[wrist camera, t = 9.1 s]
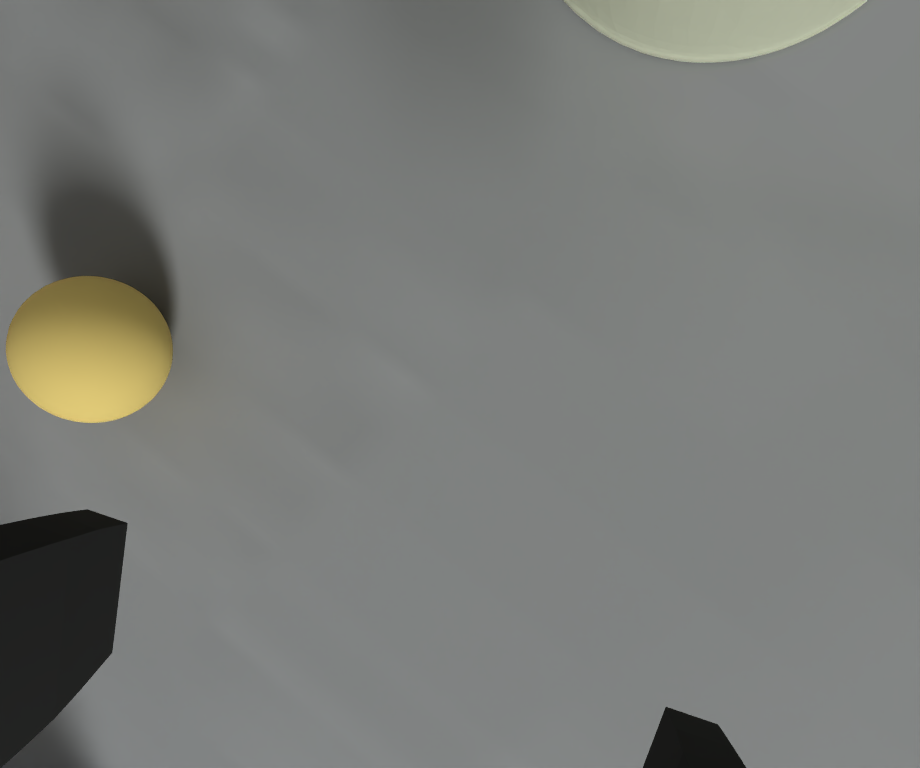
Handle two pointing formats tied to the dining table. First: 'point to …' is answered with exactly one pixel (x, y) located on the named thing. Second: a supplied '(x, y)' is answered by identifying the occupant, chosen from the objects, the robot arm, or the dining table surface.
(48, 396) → the ball
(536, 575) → the dining table surface
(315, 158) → the dining table surface
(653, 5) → the can
